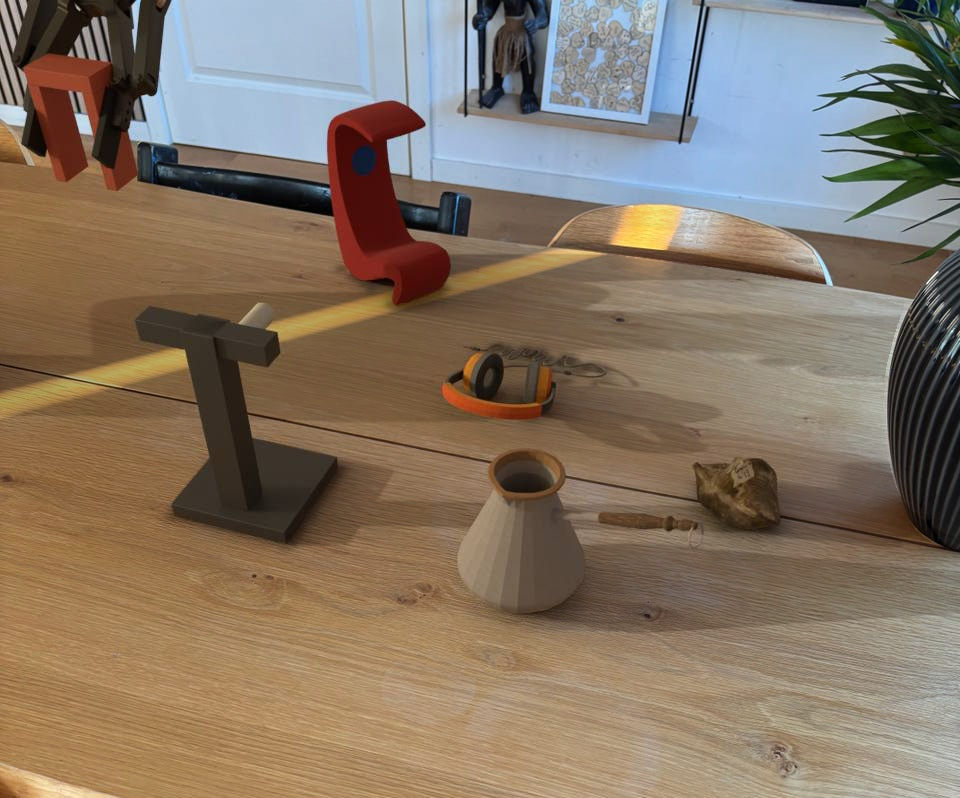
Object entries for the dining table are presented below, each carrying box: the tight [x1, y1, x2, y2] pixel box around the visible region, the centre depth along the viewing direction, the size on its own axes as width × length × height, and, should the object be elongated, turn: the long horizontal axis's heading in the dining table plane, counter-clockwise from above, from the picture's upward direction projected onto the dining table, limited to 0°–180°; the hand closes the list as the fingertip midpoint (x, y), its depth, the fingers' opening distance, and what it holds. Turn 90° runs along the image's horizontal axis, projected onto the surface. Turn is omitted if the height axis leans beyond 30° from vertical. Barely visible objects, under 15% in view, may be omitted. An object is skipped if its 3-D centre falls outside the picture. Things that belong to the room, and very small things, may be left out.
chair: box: [326, 99, 452, 306], centre depth 121 cm, size 15×7×20 cm, turn 39°
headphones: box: [441, 343, 607, 421], centre depth 110 cm, size 17×5×20 cm
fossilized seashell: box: [692, 456, 782, 530], centre depth 98 cm, size 8×7×10 cm
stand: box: [134, 302, 339, 545], centre depth 93 cm, size 12×12×20 cm
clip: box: [23, 53, 139, 192], centre depth 99 cm, size 7×4×10 cm, turn 72°
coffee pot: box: [456, 447, 705, 614], centre depth 85 cm, size 21×12×15 cm, turn 55°
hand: (67, 156), depth 98 cm, fingers closed on clip, 7 cm apart
